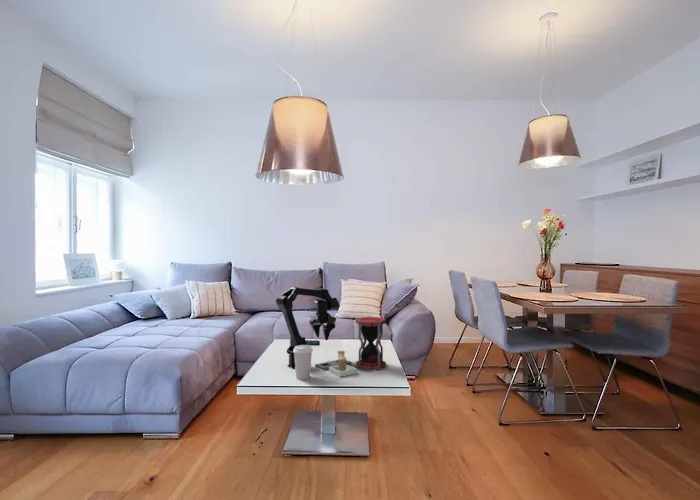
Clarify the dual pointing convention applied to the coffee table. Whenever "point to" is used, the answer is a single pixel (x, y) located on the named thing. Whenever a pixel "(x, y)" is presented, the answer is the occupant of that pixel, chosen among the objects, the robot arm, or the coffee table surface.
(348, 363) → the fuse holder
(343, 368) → the fuse
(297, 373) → the coffee cup
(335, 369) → the parts tray
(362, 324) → the hourglass
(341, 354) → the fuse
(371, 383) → the coffee table surface
